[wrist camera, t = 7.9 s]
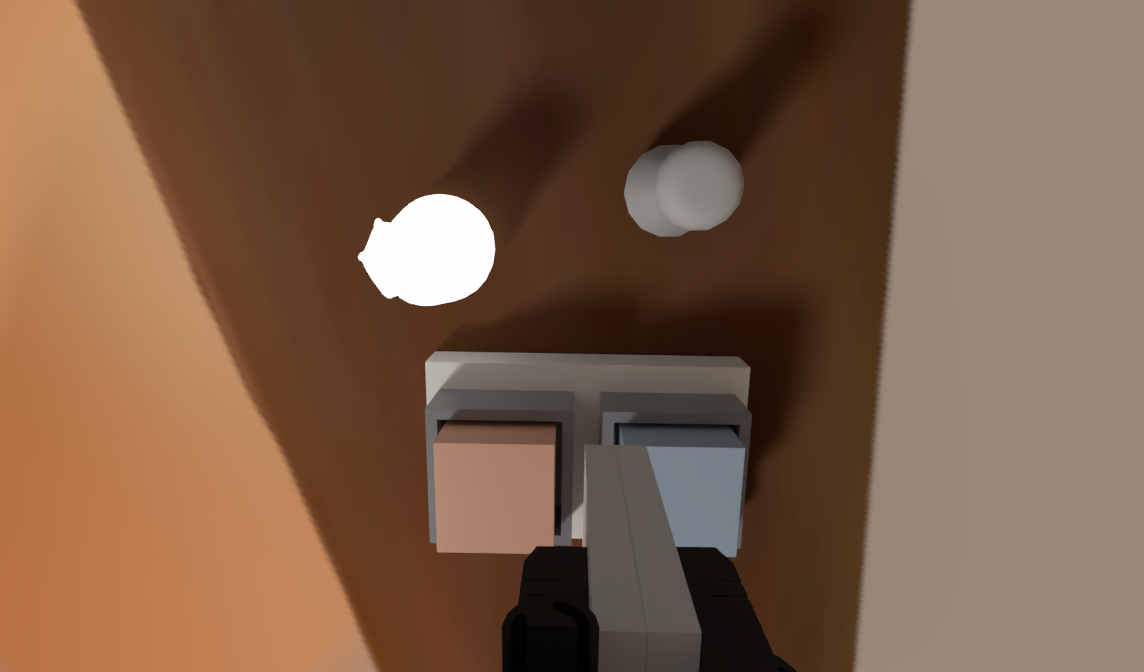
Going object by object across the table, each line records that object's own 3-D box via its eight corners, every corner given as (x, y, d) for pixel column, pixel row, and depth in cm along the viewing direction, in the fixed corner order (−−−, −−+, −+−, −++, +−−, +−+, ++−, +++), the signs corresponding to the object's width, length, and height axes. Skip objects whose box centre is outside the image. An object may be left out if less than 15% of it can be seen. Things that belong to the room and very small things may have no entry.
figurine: (404, 184, 41) (335, 175, 29) (506, 207, 41) (478, 208, 29) (388, 285, 42) (316, 316, 31) (486, 307, 43) (453, 346, 31)
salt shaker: (723, 197, 41) (790, 194, 28) (657, 252, 42) (694, 272, 29) (670, 129, 40) (715, 94, 27) (604, 186, 41) (617, 177, 28)
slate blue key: (617, 416, 39) (624, 446, 34) (723, 417, 39) (745, 448, 34) (614, 513, 41) (619, 554, 36) (716, 514, 41) (736, 557, 36)
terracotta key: (450, 413, 39) (433, 442, 34) (557, 415, 39) (554, 444, 34) (453, 510, 41) (437, 552, 36) (555, 512, 41) (553, 554, 36)
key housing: (435, 351, 43) (409, 378, 36) (738, 356, 43) (769, 384, 36) (440, 514, 46) (417, 568, 39) (725, 519, 46) (752, 574, 39)
